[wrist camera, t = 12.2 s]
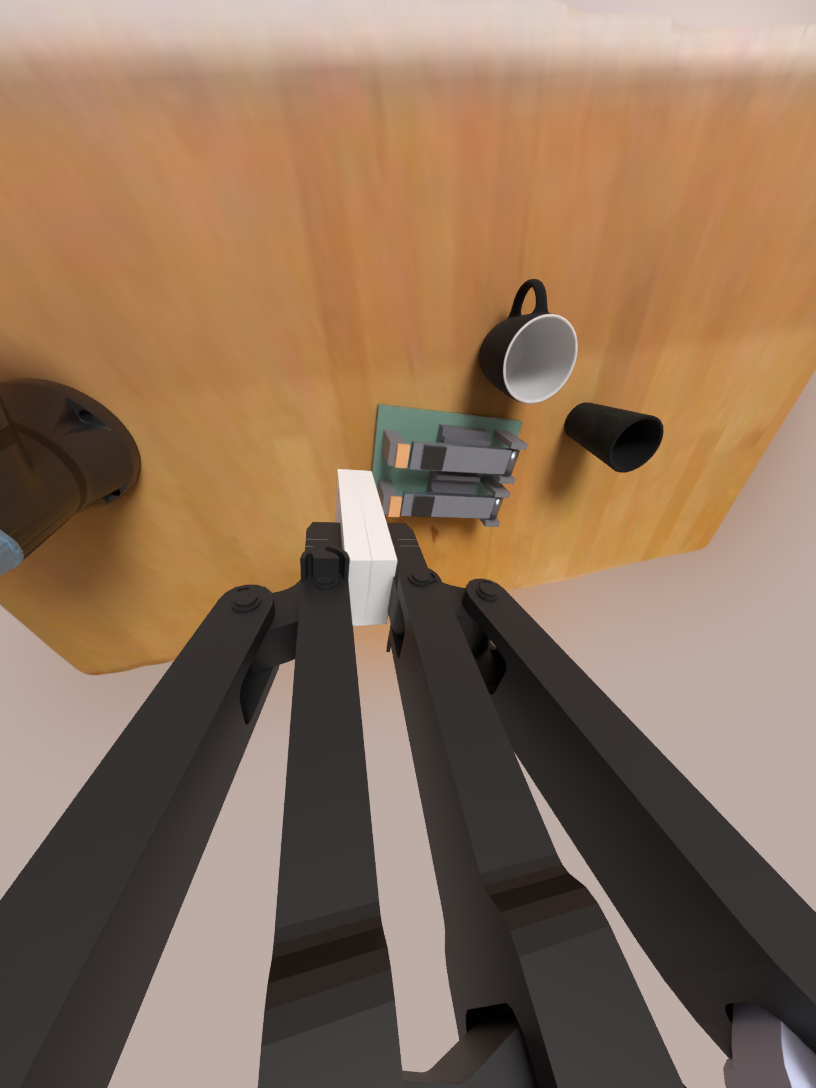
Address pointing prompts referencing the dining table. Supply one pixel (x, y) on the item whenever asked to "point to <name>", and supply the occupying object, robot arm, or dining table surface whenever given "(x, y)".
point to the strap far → (449, 505)
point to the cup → (615, 434)
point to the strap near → (461, 458)
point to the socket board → (428, 433)
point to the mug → (530, 350)
